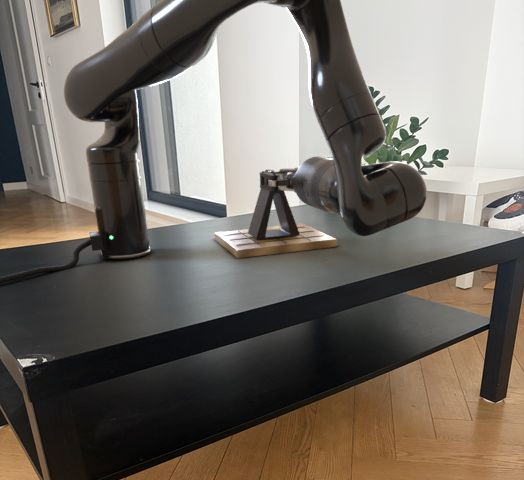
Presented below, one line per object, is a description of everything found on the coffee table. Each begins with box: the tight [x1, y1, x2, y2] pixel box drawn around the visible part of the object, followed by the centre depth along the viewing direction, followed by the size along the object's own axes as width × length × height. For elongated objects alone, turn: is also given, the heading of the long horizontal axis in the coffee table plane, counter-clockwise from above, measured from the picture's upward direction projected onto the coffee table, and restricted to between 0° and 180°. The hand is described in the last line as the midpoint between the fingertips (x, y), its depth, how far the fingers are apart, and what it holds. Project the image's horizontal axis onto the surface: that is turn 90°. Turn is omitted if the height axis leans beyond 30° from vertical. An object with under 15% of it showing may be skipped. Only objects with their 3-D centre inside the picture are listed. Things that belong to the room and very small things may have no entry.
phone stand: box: [248, 175, 299, 240], centre depth 108 cm, size 9×6×12 cm, turn 107°
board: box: [214, 223, 338, 259], centre depth 111 cm, size 20×18×2 cm
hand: (289, 174), depth 96 cm, fingers open, 8 cm apart
